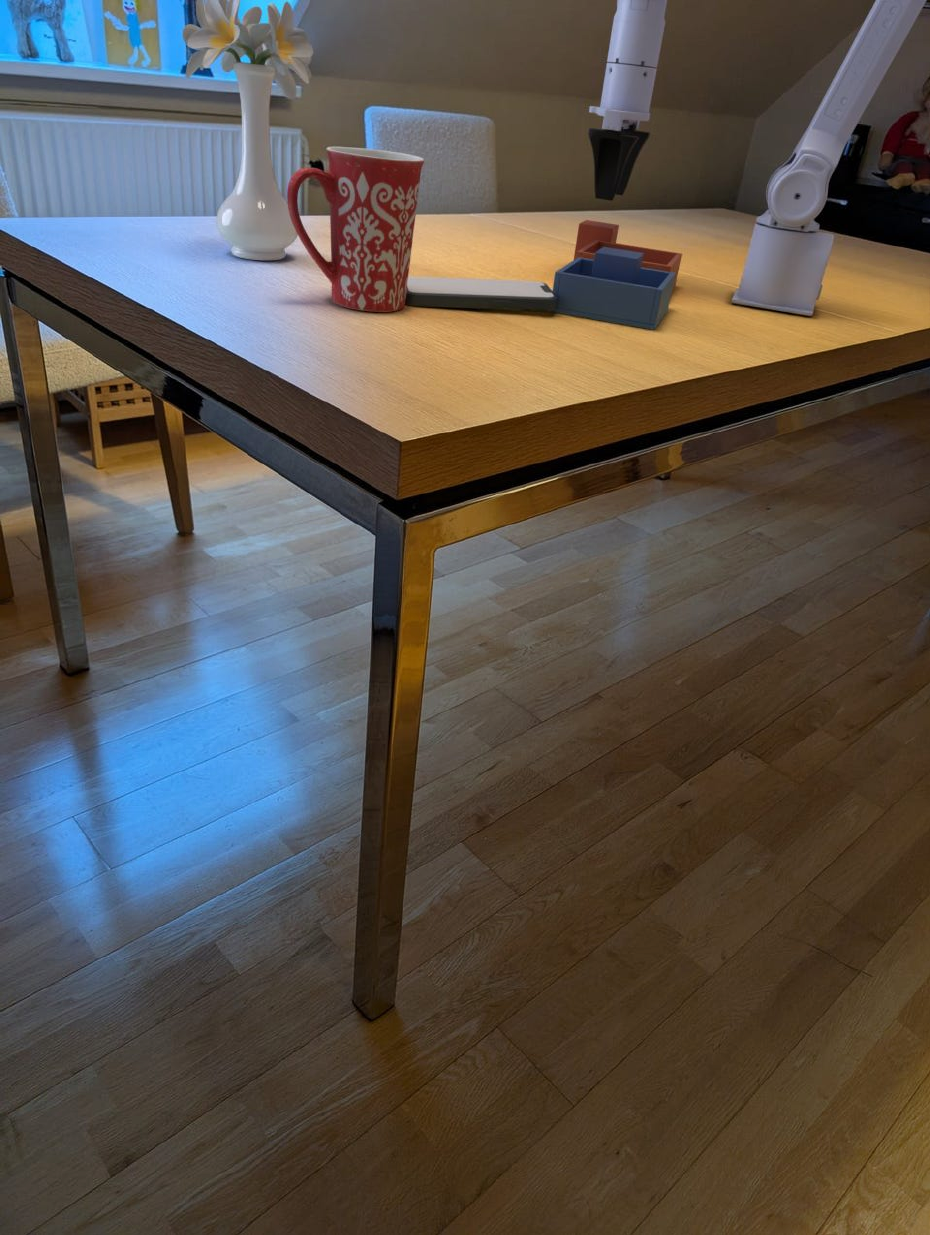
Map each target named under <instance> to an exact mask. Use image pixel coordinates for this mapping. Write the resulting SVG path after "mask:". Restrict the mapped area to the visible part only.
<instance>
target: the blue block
mask: <svg viewBox="0 0 930 1235" xmlns="http://www.w3.org/2000/svg"><path fill="white" fill-rule="evenodd" d="M643 256H644V253H640V252H634V251H628V250H621V249H615V248H609V247H602V248H601V249H599V250H598V251H596V252H595V256H594V262H593V268H592V275H591V277H595V278H601V279H607V280H613V281H619V282H625V283H631V284H637V285H638V281H639V276H640V271H641V266H642V261H643Z"/></svg>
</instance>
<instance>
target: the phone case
mask: <svg viewBox="0 0 930 1235" xmlns="http://www.w3.org/2000/svg"><path fill="white" fill-rule="evenodd" d="M552 291H553V289H551V287H550V286H549V285H548V284H547V283H545V282H542V281H537V280H517V279H494V278H493V279H490V278H465V277H464V278H463V277H441V276H440V277H439V276H413V275H412V276H408V281H407V291H406V299H405V305H407V306H408V307H409V306H410V307H419V308H420V307H422V308H423V307H425V308H452V309H453V308H454V309H479V310H480V309H481V310H482V309H485V310H507V311H508V310H511V311H524V312H525V311H526V312H550V311H553V310H555V309H557V305H558V297H557V296H556V295H555V294H553V293H552Z"/></svg>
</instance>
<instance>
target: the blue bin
mask: <svg viewBox="0 0 930 1235" xmlns="http://www.w3.org/2000/svg"><path fill="white" fill-rule="evenodd" d="M593 262H594V260H592V259H586V258H580V257H578V258H576V259H575V260H574V259H573V260H571V261H570V262H568V263H567V264H566V265H563V266H562V267H561V268H559V269H558V270H556V271H555V272H554V277H553V284H552V293H553V294H555V295H556V296H557V297H558V305H557V309H555V310H553V311H549V312H551V313H554V314H555V313H556V314H563V315H566V316H572V317H579V318H585V319H590V320H595V321H602V322H607V323H613V324H618V325H623V326H628V327H629V326H630V327H635V328H641V329H646V330H651V331H654V330H656V329H657V326H658V325H659V324H660V322H661V321H662V320H663V317H664V316H665V315H666V313H667V312H668V311H669V308H670V302H671V298H672V293H673V290H674V289H673V284H674V279H675V275H676V273H672V272H671V273H670V272H666V271H660V270H654V269H648V268H642V267H641V271H640V276H639V281H638V285H637V284H631V283H625V282H619V281H613V280H607V279H601V278H595V277H591V275H592V268H593ZM672 289H673V290H672Z"/></svg>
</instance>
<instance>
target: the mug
mask: <svg viewBox="0 0 930 1235" xmlns="http://www.w3.org/2000/svg"><path fill="white" fill-rule="evenodd" d="M325 150H326V154H327V157H328V172H326V171H324V170H322V169H319V168H316V167H312V166H311V167H308V166H306V167H302V168H300V169H297V170H296V171H295V172H294V173H293V174H292V176H291V177H290V180H289V182H288V185H287V190H286V191H287V192H286V201H287V203H288V210H289V214H290V218H291V221H292V223H293V226H294V228H295V230H296V232H297V234H298V236H297V237H298V238H299V240H300V242H301V243H302V245H303V246H304V248H305V250H306V251H307V253H308V254H309V256H310V257H311V258H312V260H313V261H314V263H315V264H316V265H317V267H318V268H319V269H320V271H321V272H322V274H323V275H325V277H326V279H328V281H329V282H330V283H331V300H332V301H333V303H335V304H337V305H339V306H341V307H345V308H348V309H352V310H356V311H357V310H358V311H364V312H365V311H366V312H373V313H374V312H375V313H376V312H379V313H387V312H389V313H390V312H396V311H400V310H402V309H403V308H404V307H405V305H406V304H405V299H406V291H407V281H408V277H409V273H410V265H411V257H412V248H413V239H414V231H415V223H416V216H417V208H418V200H419V190H420V183H421V175H422V169H423V166H424V163H425V158H424V157H423V158H422V157H421V156H417V155H413V154H409V153H403V152H397V151H389V150H383V149H375V148H366V147H365V148H363V147H353V146H352V147H350V146H348V147H347V146H328V147H326V149H325ZM309 178H313V179H315V180H316V181H318V183H319V184H320V187H321V188H322V190H323V193H324V196H325V199H326V201H327V203H328V204H329V213H330V214H329V218H330V219H329V220H330V222H329V224H330V257H331V258H330V259H331V261H328V260H326V259H325V258H324V256H323V255H322V254H321V253H320V251H319V250H318V249H317V248H316V246H315V244H314V242H313V241H312V239H311V238H310V236H309V234H308V232H307V231H306V229H305V227H304V225H303V222H302V218H301V216H300V212H299V207H298V206H299V205H298V204H299V203H298V200H299V199H298V197H299V190H300V188H301V186H302V184H303V182H304V181H306V180H307V179H309Z"/></svg>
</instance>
